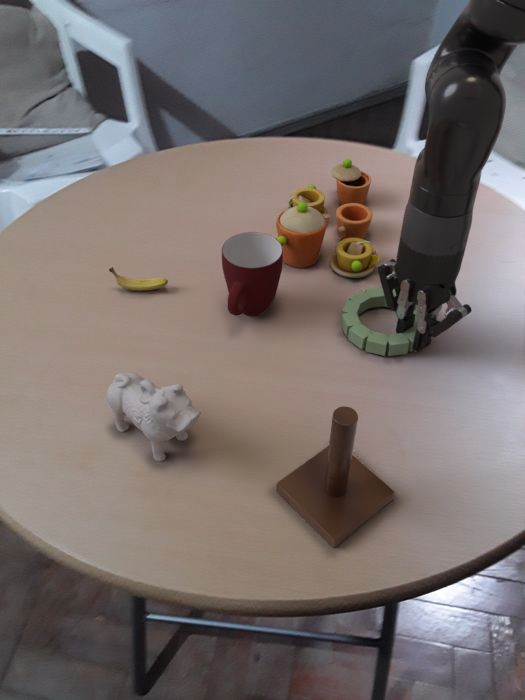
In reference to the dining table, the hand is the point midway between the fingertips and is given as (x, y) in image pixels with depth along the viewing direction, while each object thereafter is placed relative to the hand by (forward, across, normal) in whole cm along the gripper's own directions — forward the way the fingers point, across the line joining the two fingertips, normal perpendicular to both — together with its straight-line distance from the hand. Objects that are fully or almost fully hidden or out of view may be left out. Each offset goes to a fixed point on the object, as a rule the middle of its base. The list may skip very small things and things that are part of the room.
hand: (411, 342), depth 90 cm
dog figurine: (+1, +9, +34) cm, 35 cm away
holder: (+1, -10, +24) cm, 26 cm away
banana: (+1, +33, +21) cm, 39 cm away
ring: (0, +5, 0) cm, 5 cm away
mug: (+1, +19, +12) cm, 22 cm away
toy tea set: (+1, +26, -10) cm, 28 cm away
